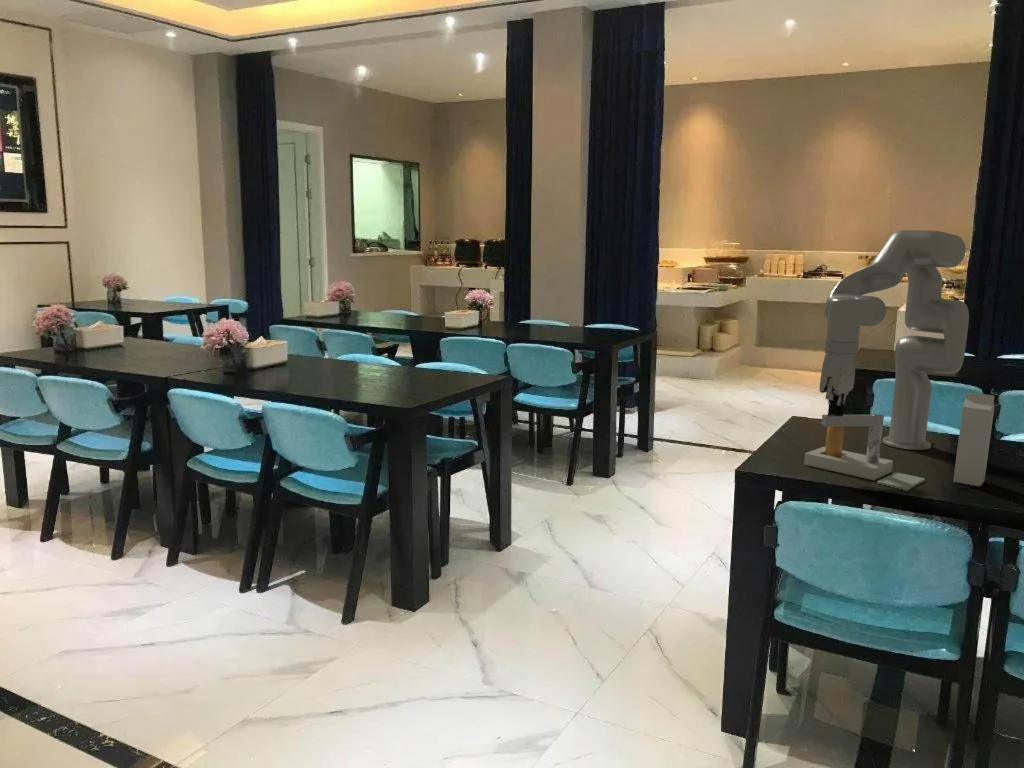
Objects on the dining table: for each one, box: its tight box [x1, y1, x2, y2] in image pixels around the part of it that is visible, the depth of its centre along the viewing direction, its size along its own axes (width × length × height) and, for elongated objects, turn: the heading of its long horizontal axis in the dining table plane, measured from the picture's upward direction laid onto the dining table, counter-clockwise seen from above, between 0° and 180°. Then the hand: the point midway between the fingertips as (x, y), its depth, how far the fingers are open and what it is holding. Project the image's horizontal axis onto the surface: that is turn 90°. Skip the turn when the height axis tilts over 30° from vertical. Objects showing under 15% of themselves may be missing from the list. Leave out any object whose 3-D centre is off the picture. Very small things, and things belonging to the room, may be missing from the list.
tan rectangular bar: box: [825, 426, 845, 458], centre depth 209 cm, size 4×4×12 cm
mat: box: [876, 471, 926, 492], centre depth 196 cm, size 12×7×1 cm, turn 135°
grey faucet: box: [820, 413, 885, 462], centre depth 201 cm, size 3×16×12 cm, turn 97°
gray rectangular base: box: [803, 446, 894, 481], centre depth 207 cm, size 11×18×3 cm, turn 45°
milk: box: [952, 392, 995, 487], centre depth 196 cm, size 6×6×22 cm
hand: (835, 420), depth 202 cm, fingers closed
